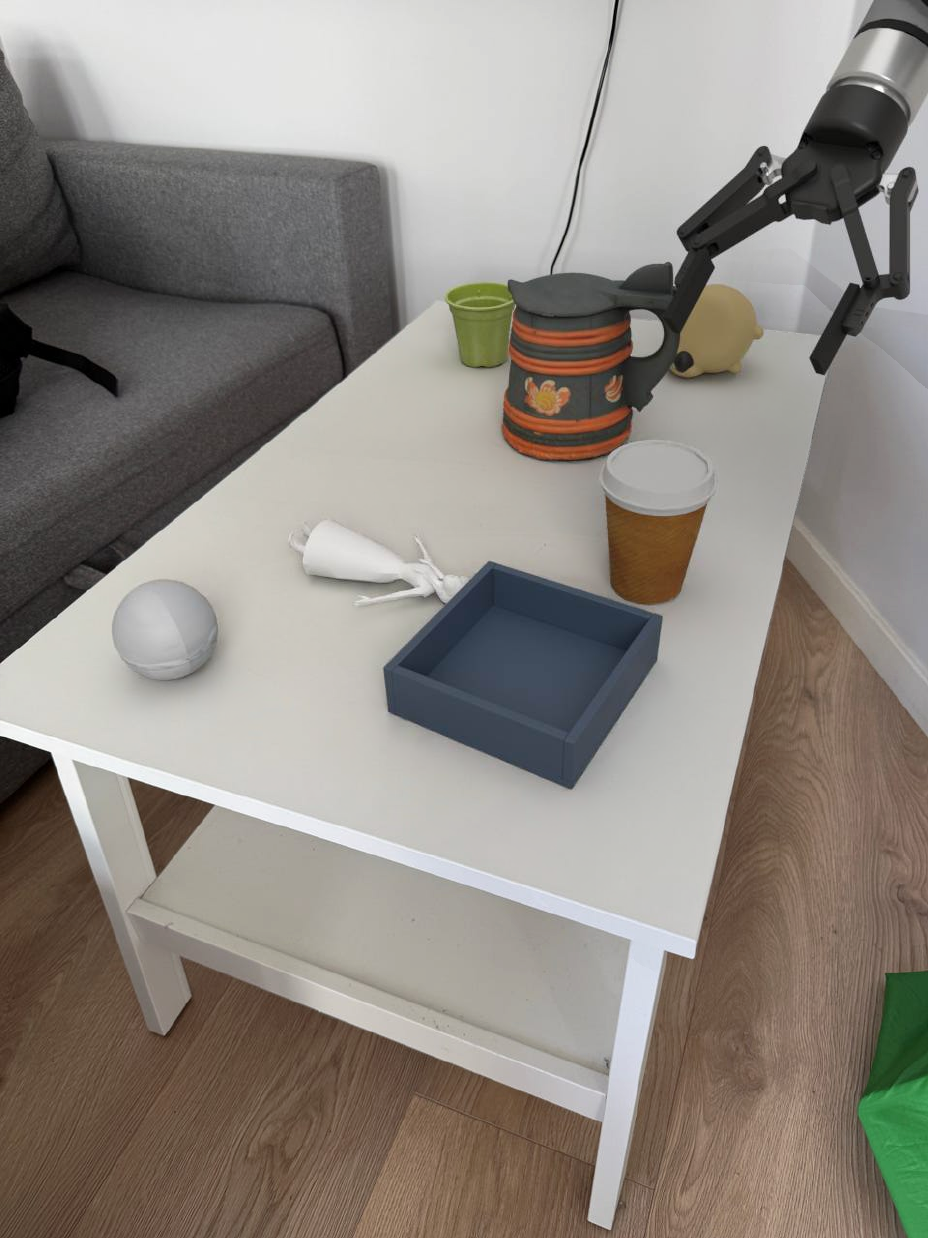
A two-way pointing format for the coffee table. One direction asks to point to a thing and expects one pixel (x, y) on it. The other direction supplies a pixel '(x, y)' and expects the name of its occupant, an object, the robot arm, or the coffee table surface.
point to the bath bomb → (164, 629)
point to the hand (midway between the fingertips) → (740, 345)
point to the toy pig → (716, 333)
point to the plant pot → (481, 321)
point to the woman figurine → (370, 563)
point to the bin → (525, 670)
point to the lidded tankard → (582, 361)
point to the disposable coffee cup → (654, 515)
